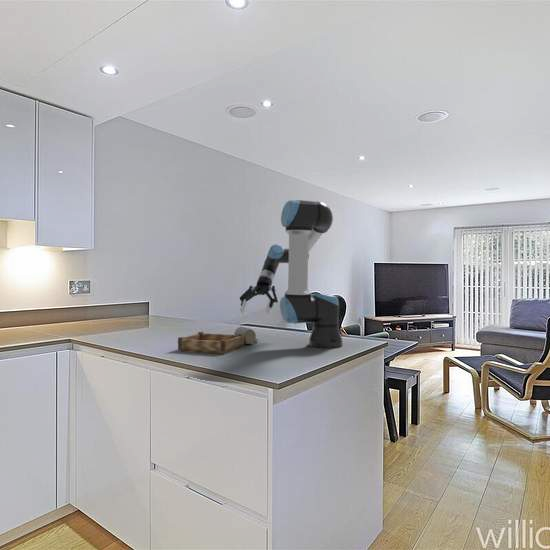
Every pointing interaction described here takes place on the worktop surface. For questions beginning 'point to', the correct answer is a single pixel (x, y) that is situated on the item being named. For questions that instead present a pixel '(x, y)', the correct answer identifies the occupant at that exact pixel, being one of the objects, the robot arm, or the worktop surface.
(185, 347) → the crate
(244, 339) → the ceramic mug
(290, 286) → the robot arm
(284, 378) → the worktop surface
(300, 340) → the worktop surface
